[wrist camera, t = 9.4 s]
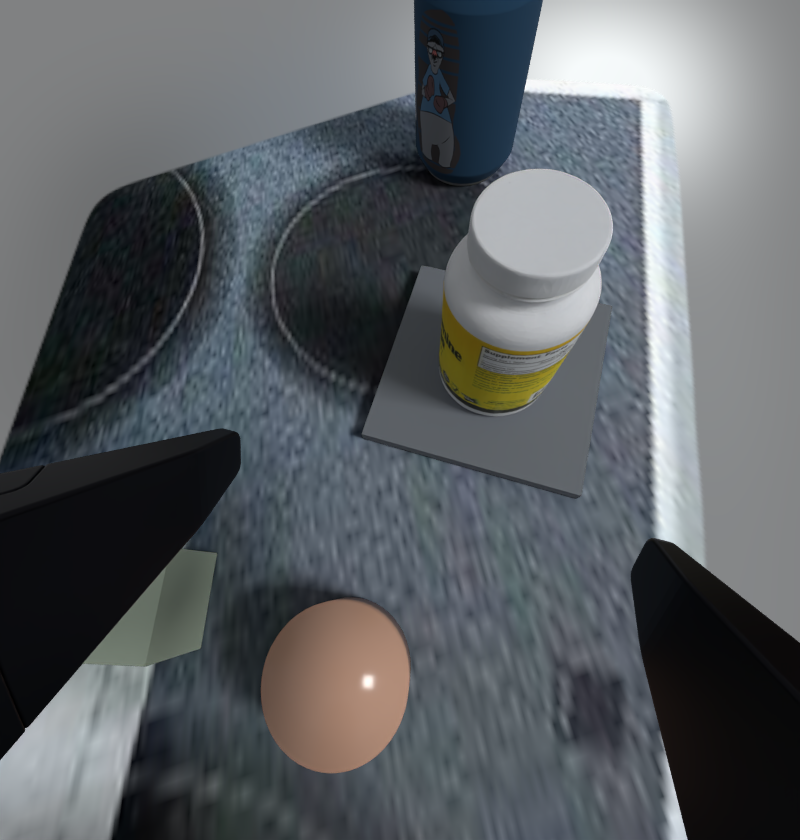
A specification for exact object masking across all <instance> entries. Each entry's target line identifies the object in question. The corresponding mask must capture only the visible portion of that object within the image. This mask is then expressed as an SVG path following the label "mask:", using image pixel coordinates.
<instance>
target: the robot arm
mask: <svg viewBox="0 0 800 840" xmlns="http://www.w3.org/2000/svg"><path fill="white" fill-rule="evenodd" d="M240 465H241V446H240V436H239V434H238V433H237V432H235V431H231V430H227V429H215V430H210V431H206V432H201V433H196V434H191V435H186V436H181V437H177V438H172V439H167V440H162V441H157V442H152V443H148V444H143V445H138V446H133V447H128V448H123V449H119V450H114V451H109V452H104V453H99V454H94V455H90V456H85V457H80V458H75V459H70V460H65V461H61V462H56V463H51V464H47V465H46V466H43V465H41V466H36V467H31V468H26V469H21V470H16V471H11V472H6V473H1V474H0V760H1V759H2V757H3V756H4V755H5V754H6V753H7V752H8V750H9V749H10V748H11V747H12V746H13V745H14V743H15V742H16V741H17V740H18V739H19V738H20V736H21V735H22V734H23V733H24V732H25V728H27V727H29V726H30V724H31V723H32V722H33V721H34V720H35V719H36V717H37V716H38V715H39V714H40V713H41V712H42V710H43V709H44V708H45V707H46V706H47V705H48V703H49V702H50V701H51V700H52V699H53V698H54V696H55V695H56V694H57V693H58V692H59V691H60V689H61V688H62V687H63V686H64V685H65V684H66V682H67V681H68V680H69V679H70V678H71V677H72V675H73V674H74V673H75V672H76V671H77V670H78V668H79V667H80V666H81V665H82V664H83V663H84V662H85V660H86V659H87V658H88V657H89V656H90V655H91V653H92V652H93V651H94V650H95V649H96V648H97V646H98V645H99V644H100V643H101V642H102V641H103V639H104V638H105V637H106V636H107V635H108V634H109V632H110V631H111V630H112V629H113V628H114V627H115V625H116V624H117V623H118V622H119V621H120V620H121V618H122V617H123V616H124V615H125V614H126V613H127V611H128V610H129V609H130V608H131V607H132V606H133V605H134V603H135V602H136V601H137V600H138V599H139V598H140V596H141V595H142V594H143V593H144V592H145V591H146V589H147V588H148V587H149V586H150V585H151V584H152V582H153V581H154V580H155V579H156V578H157V577H158V575H159V574H160V573H161V572H162V571H163V570H164V568H165V567H166V566H167V565H168V564H169V563H170V561H171V560H172V559H173V558H174V557H175V556H176V554H177V553H178V552H179V551H180V550H181V549H182V547H183V546H184V545H185V544H186V543H187V542H188V541H189V539H190V538H191V537H192V536H193V535H194V534H195V532H196V531H197V530H198V529H199V527H200V526H201V525H202V524H203V522H204V521H205V520H206V518H207V517H208V516H209V514H210V513H211V511H212V510H213V508H214V507H215V506H216V504H217V503H218V501H219V500H220V498H221V497H222V495H223V494H224V492H225V491H226V490H227V488H228V487H229V485H230V484H231V482H232V481H233V479H234V478H235V477H236V475H237V473H238V472H239V469H240ZM631 585H632V592H633V600H634V607H635V615H636V622H637V630H638V637H639V644H640V650H641V654H642V659H643V663H644V667H645V671H646V675H647V679H648V683H649V687H650V691H651V695H652V699H653V703H654V707H655V711H656V715H657V719H658V723H659V727H660V731H661V735H662V739H663V743H664V747H665V751H666V755H667V759H668V763H669V767H670V771H671V775H672V779H673V783H674V787H675V791H676V795H677V799H678V803H679V807H680V811H681V815H682V819H683V823H684V827H685V831H686V835H687V839H688V840H800V643H799V642H798V641H797V640H795V639H794V638H793V637H792V636H791V635H789V634H788V633H787V632H785V631H784V630H783V629H782V628H780V627H779V626H778V625H777V624H775V623H774V622H773V621H772V620H770V619H769V618H768V617H766V616H765V615H764V614H762V613H761V612H760V611H759V610H758V609H756V608H755V607H754V606H753V605H751V604H750V603H749V602H747V601H746V600H745V599H744V598H742V597H741V596H740V595H739V594H737V593H736V592H735V591H733V590H732V589H731V588H730V587H728V586H727V585H726V584H725V583H723V582H722V581H721V580H719V579H718V578H717V577H716V576H714V575H713V574H712V573H711V572H709V571H708V570H707V569H706V568H704V567H703V566H702V565H701V564H699V563H698V562H697V561H695V560H694V559H693V558H692V557H690V556H689V555H688V554H687V553H685V552H684V551H683V550H681V549H680V548H679V547H678V546H676V545H675V544H674V543H671V542H668V541H664V540H660V539H656V538H651V539H649V540H648V541H647V542H646V543H645V545H644V547H643V548H642V550H641V552H640V554H639V556H638V558H637V560H636V562H635V564H634V566H633V568H632V571H631Z"/></svg>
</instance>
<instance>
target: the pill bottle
mask: <svg viewBox="0 0 800 840" xmlns="http://www.w3.org/2000/svg"><path fill="white" fill-rule="evenodd" d="M612 232H613V222H612V216H611V213H610V210H609V208H608V206H607V204H606V202H605V201H604V199H603V198H602V197H601V195H600V194H599V193H598V192H597V191H596V190H595V189H594V188H593V187H591V186H590V185H589V184H587V183H586V182H584V181H582V180H581V179H579V178H577V177H575V176H572V175H570V174H567V173H564V172H560V171H556V170H550V169H527V170H522V171H517V172H513V173H510V174H507V175H505V176H503V177H501V178H499V179H497V180H496V181H494V182H493V183H492V184H490V185H489V186H488V187H487V188H486V189H485V190H484V191H483V192H482V193H481V194H480V196H479V197H478V199H477V200H476V202H475V204H474V207H473V210H472V214H471V218H470V225H469V231H468V234H467V235H466V236H465V237H464V238H463V239H462V240H461V241H460V243H459V244H458V245H457V246H456V248H455V250H454V251H453V253H452V255H451V257H450V259H449V262H448V264H447V268H446V273H445V276H444V288H443V306H442V322H441V336H440V350H439V371H440V376H441V380H442V383H443V385H444V387H445V389H446V390H447V392H448V393H449V394H450V396H451V397H452V398H453V399H454V400H455V401H456V402H457V403H459V404H460V405H461V406H463V407H464V408H466V409H468V410H470V411H472V412H475V413H478V414H482V415H487V416H506V415H510V414H514V413H517V412H519V411H522V410H524V409H525V408H527V407H528V406H530V405H531V404H532V403H533V402H534V401H535V400H536V399H537V398H538V397H539V396H540V395H541V393H542V392H543V391H544V389H545V388H546V386H547V385H548V383H549V382H550V380H551V379H552V378H553V376H554V374H555V373H556V371H557V370H558V368H559V367H560V366H561V364H562V362H563V361H564V359H565V358H566V356H567V355H568V353H569V352H570V350H571V349H572V347H573V346H574V344H575V343H576V341H577V339H578V338H579V336H580V335H581V333H582V332H583V330H584V329H585V327H586V326H587V324H588V322H589V321H590V319H591V317H592V315H593V313H594V312H595V309H596V307H597V304H598V302H599V298H600V293H601V272H600V268H599V264H600V262H601V260H602V258H603V256H604V254H605V252H606V250H607V248H608V246H609V244H610V241H611V237H612Z"/></svg>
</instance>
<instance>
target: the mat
mask: <svg viewBox="0 0 800 840" xmlns="http://www.w3.org/2000/svg"><path fill="white" fill-rule="evenodd" d="M445 273H446V270H441V269H436V268H431V267H427V266H421V269H420V271H419V274H418V277H417V280H416V283H415V285H414V288H413V291H412V294H411V297H410V299H409V302H408V305H407V308H406V311H405V313H404V316H403V319H402V322H401V325H400V327H399V330H398V333H397V336H396V339H395V341H394V344H393V347H392V350H391V353H390V355H389V358H388V361H387V364H386V367H385V370H384V372H383V375H382V378H381V381H380V384H379V386H378V389H377V392H376V395H375V398H374V400H373V403H372V406H371V409H370V412H369V414H368V417H367V420H366V423H365V426H364V428H363V431H362V436H363V438H364V439H367V440H371V441H374V442H378V443H381V444H385V445H388V446H392V447H395V448H399V449H403V450H406V451H410V452H413V453H417V454H420V455H424V456H427V457H431V458H434V459H438V460H441V461H445V462H448V463H452V464H455V465H459V466H463V467H466V468H470V469H473V470H477V471H480V472H484V473H487V474H491V475H494V476H498V477H501V478H505V479H508V480H512V481H516V482H519V483H523V484H526V485H530V486H533V487H537V488H540V489H544V490H547V491H551V492H554V493H558V494H561V495H565V496H568V497H572V498H578V497H580V496H581V495H582V489H583V483H584V477H585V470H586V464H587V458H588V452H589V446H590V440H591V434H592V427H593V421H594V415H595V409H596V403H597V397H598V390H599V384H600V378H601V372H602V366H603V360H604V354H605V347H606V341H607V335H608V329H609V323H610V317H611V310H612V306H610V305H605V304H600V303H598V304H597V307H596V309H595V312H594V313H593V315H592V317H591V319H590V321H589V322H588V324H587V326H586V327H585V329H584V330H583V332H582V333H581V335H580V336H579V338H578V339H577V341H576V343H575V344H574V346H573V347H572V349H571V350H570V352H569V353H568V355H567V356H566V358H565V359H564V361H563V362H562V364H561V366H560V367H559V368H558V370H557V371H556V373H555V374H554V376H553V378H552V379H551V380H550V382H549V383H548V385H547V386H546V388H545V389H544V391H543V392H542V393H541V395H540V396H539V397H538V398H537V399H536V400H535V401H534V402H533V403H532V404H531V405H530V406H528V407H527V408H525V409H524V410H522V411H519V412H517V413H514V414H510V415H506V416H487V415H482V414H478V413H475V412H472V411H470V410H468V409H466V408H464V407H463V406H461V405H460V404H459V403H457V402H456V401H455V400H454V399H453V398H452V397H451V396H450V394H449V393H448V392H447V390H446V389H445V387H444V385H443V383H442V380H441V376H440V371H439V350H440V336H441V322H442V306H443V288H444V276H445Z"/></svg>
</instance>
